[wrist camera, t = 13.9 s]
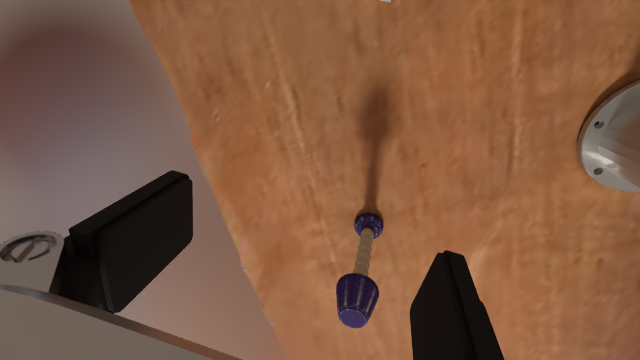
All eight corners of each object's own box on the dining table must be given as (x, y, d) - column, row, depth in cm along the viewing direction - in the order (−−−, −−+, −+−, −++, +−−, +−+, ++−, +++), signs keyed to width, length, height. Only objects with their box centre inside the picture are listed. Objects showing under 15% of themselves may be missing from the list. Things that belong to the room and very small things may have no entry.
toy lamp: (363, 242, 44) (350, 341, 30) (344, 221, 43) (321, 312, 29) (389, 228, 42) (389, 326, 28) (369, 205, 41) (358, 294, 27)
